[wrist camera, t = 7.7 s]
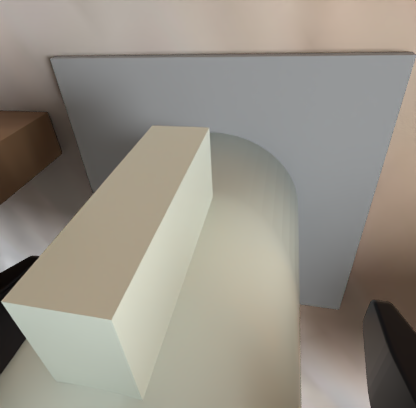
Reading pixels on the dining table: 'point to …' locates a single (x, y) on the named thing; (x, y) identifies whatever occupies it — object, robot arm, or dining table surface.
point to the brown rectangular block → (24, 148)
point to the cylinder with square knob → (167, 286)
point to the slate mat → (257, 129)
